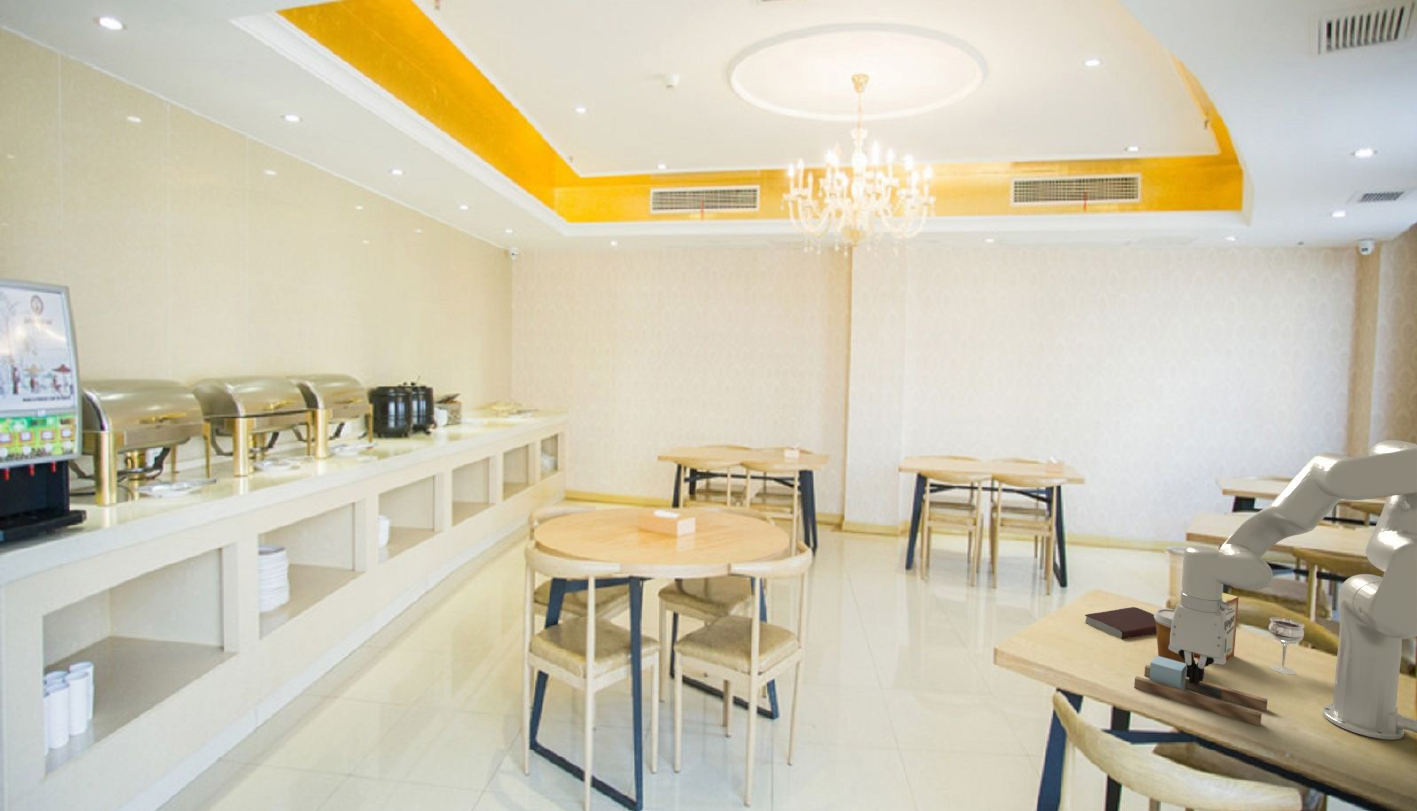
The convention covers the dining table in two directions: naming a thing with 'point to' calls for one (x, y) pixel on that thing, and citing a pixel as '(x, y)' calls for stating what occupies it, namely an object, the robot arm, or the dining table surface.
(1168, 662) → the block
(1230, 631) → the baking soda box
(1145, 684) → the chute
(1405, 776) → the dining table surface
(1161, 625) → the disposable coffee cup
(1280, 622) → the wineglass
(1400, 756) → the dining table surface
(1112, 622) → the book
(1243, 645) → the dining table surface
